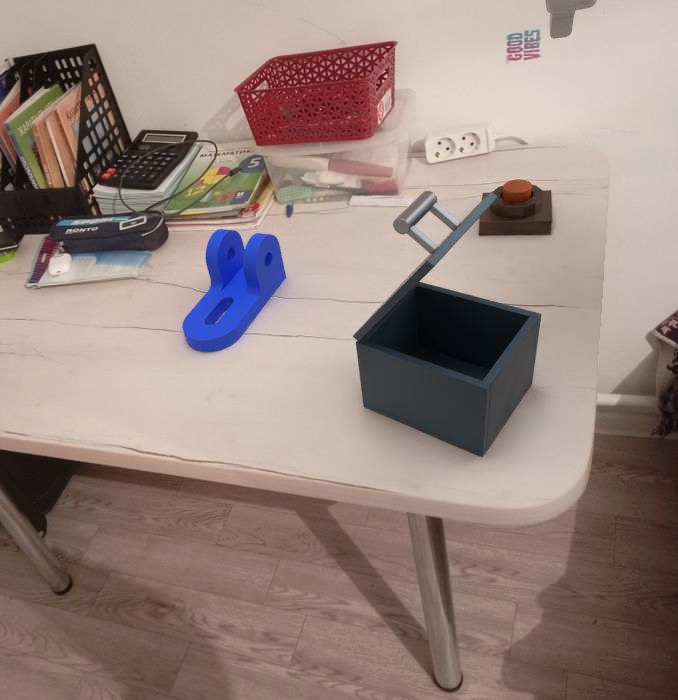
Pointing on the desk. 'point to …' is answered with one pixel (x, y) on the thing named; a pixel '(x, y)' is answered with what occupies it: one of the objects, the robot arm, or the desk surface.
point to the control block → (518, 215)
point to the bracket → (234, 288)
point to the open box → (449, 364)
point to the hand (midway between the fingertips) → (559, 32)
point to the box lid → (425, 245)
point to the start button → (517, 191)
